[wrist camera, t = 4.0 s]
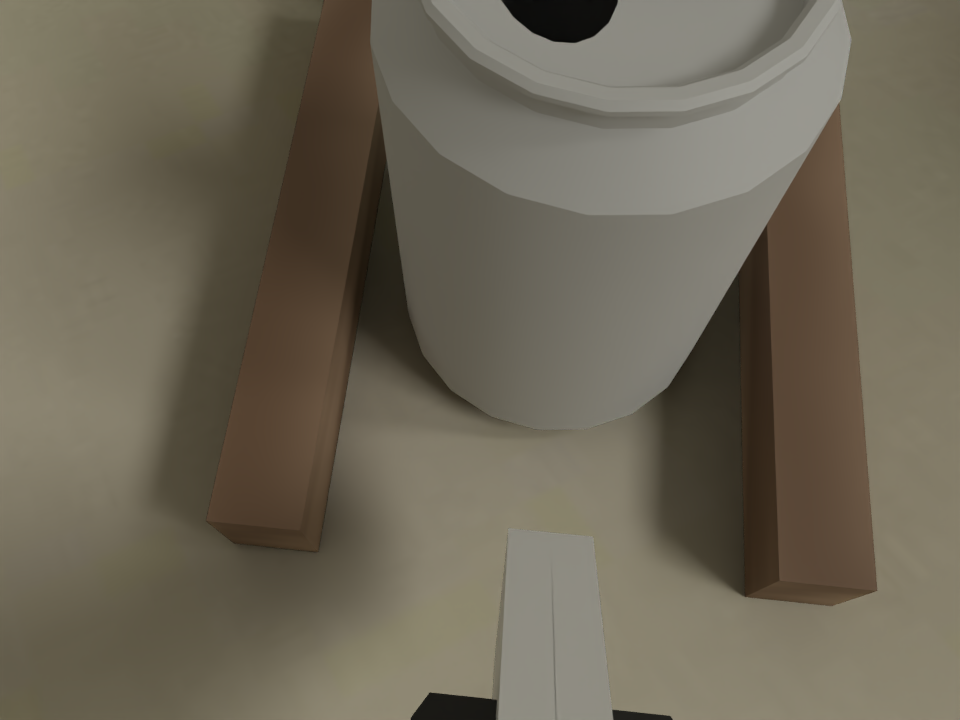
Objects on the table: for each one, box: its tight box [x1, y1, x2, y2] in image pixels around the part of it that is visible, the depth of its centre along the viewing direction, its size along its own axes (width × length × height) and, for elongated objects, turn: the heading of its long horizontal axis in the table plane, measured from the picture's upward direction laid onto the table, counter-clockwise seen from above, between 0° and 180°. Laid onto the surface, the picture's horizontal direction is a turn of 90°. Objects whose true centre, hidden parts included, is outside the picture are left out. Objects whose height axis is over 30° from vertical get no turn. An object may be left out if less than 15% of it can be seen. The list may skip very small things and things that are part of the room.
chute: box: [206, 0, 877, 606], centre depth 22 cm, size 14×16×2 cm
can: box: [370, 0, 851, 430], centre depth 17 cm, size 8×8×12 cm
